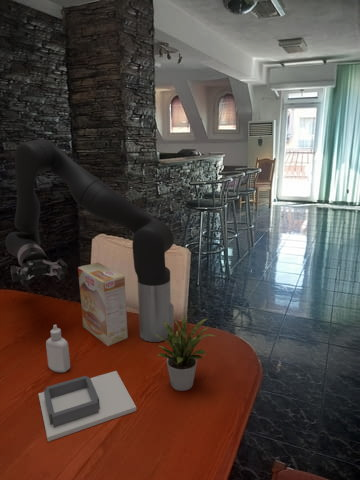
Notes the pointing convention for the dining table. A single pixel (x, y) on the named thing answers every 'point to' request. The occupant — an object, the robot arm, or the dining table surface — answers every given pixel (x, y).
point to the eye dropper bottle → (57, 351)
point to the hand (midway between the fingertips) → (44, 280)
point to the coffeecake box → (103, 302)
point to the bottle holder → (83, 403)
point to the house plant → (182, 355)
